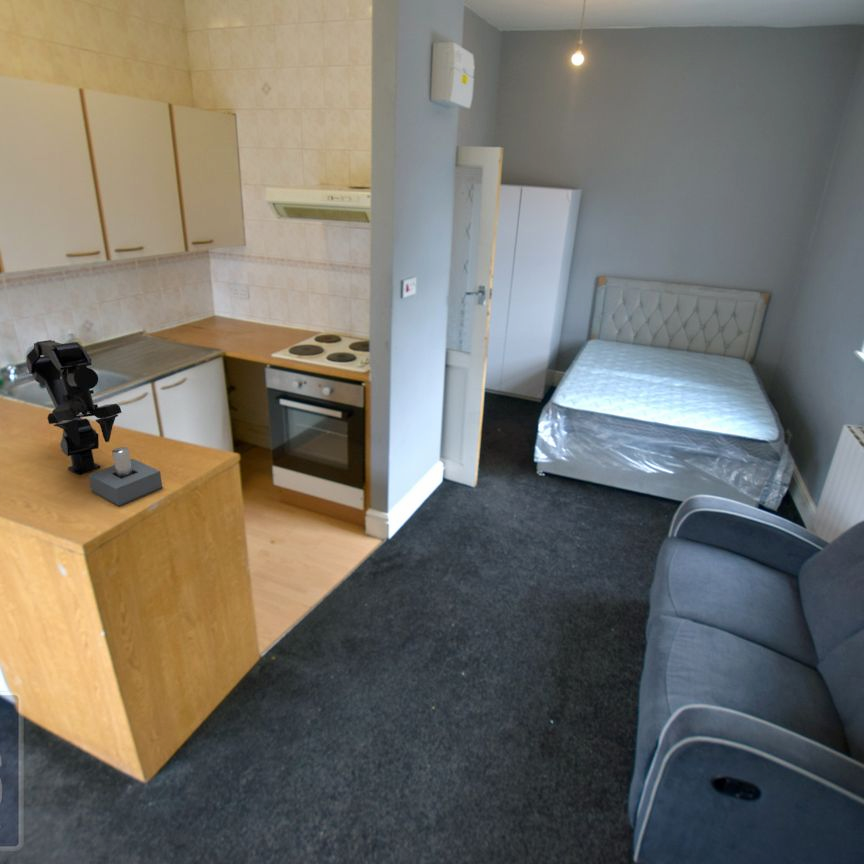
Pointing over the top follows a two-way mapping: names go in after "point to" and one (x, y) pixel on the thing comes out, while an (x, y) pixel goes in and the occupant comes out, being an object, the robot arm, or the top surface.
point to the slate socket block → (125, 483)
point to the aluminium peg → (122, 462)
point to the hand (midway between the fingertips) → (92, 443)
